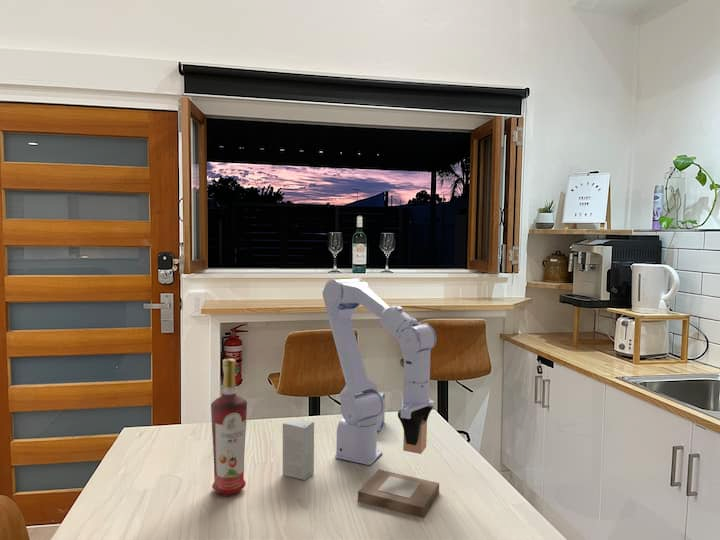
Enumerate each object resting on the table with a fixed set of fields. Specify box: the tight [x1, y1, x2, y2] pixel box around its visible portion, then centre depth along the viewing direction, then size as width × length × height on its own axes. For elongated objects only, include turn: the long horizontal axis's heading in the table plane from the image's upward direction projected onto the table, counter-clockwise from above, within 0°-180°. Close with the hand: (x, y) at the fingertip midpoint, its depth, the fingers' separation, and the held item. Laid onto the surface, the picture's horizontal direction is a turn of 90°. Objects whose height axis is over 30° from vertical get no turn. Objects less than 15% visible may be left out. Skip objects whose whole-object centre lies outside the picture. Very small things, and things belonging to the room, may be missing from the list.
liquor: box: [210, 358, 248, 497], centre depth 109 cm, size 7×7×28 cm
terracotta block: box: [402, 420, 428, 455], centre depth 115 cm, size 4×4×6 cm
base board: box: [357, 469, 440, 518], centre depth 109 cm, size 14×11×2 cm
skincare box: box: [282, 417, 315, 481], centre depth 117 cm, size 6×4×12 cm
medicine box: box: [377, 392, 386, 432], centre depth 148 cm, size 8×4×9 cm, turn 168°
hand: (414, 440), depth 115 cm, fingers closed on terracotta block, 4 cm apart
